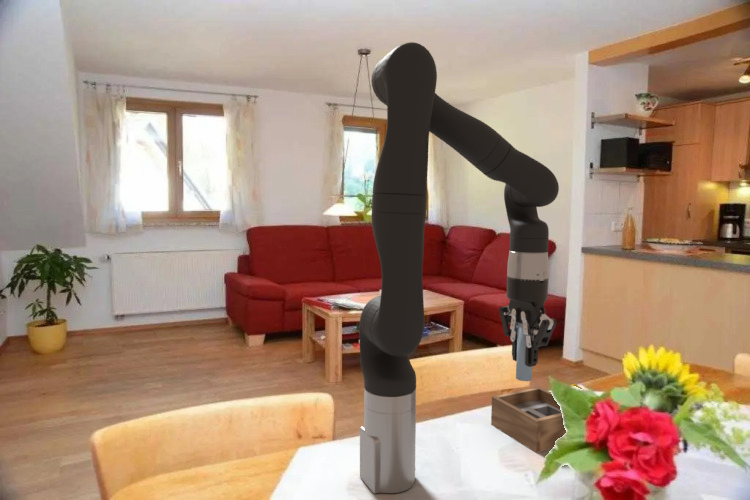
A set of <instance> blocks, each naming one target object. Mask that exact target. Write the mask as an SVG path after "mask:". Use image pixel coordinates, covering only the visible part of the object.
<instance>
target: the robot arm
mask: <svg viewBox="0 0 750 500" xmlns="http://www.w3.org/2000/svg"><path fill="white" fill-rule="evenodd" d="M437 79H438V73H437V65H436V62H435V59H434V56H433V55H432V54H431V52H430V50H429V49H427V47H425V45H422V44H421V43H419V42H418V43H417V42H412V41H411V42H406V43H402V44H400V45H398V46H396V47H395V48H393V49H392V50H390V52H388V53H387V54H386V55H385V56H384V57H383V58H381V59H380V60H379V62H377V64H376V65H375V66H374V68H373V70H372V73H371V80H370V81H371V87H372V91H373V93H374V95H375V96H376V97H377V99H378V100H379V102H381V103H382V104H383V105H386V108H387V110H386V112H387V113H386V114H387V115H386V117H387V118H386V119H387V120H386V130H385V136H384V142H383V145H382V148H381V151H380V155H379V158H378V160H377V161H378V163H377V166H376V169H375V174H374V178H373V185H372V196H371V198H372V199H371V227H372V233H373V237H374V241H375V245H376V250H377V253H378V258H379V262H380V268H381V288H380V291H381V292H380V295H377V296H375V297H373V298H371V299H370V300H368V302H367V303H366V304H365V305H364V307H363V309H362V310H361V314H360V318H359V319H360V320H359V327H358V328H359V330H358V333H359V334H358V335H359V358H360V361H359V362H360V369H361V374H362V375H363V376H362V377H363V384H364V385H363V387H364V388H363V391H364V393H363V396H364V397H363V398H364V401H363V403H364V404H363V409H364V411H363V412H364V413H363V415H364V416H363V420H364V421H363V425H362V426H360V428H359V478H360V479H361V480H362V481H363V482H364V483H365V485H366V486H367V487H368V488H369V489H370V491H371V492H372V493H373V494H377V493H379V494H380V493H382V494H383V493H384V494H399V493H402V492H405V491H407V490H409V489H411V488H412V487H413V486H414V484H415V482H416V433H417V431H416V430H417V429H416V428H417V427H416V425H417V424H416V420H417V417H416V416H417V415H416V414H417V374H416V371H415V368H414V367H413V366H412V364H411V361H410V358H409V355H411V354H412V353H413V352H415V350H416V349H417V348H418V347H419V345H420V343H421V342H422V339H423V336H424V331H425V307H424V306H425V305H424V285H423V270H424V269H423V267H424V266H423V265H424V250H425V248H424V247H425V226H426V218H427V215H426V214H427V201H428V200H427V199H428V198H427V197H428V170H429V167H428V166H429V140H430V139H429V138H430V134H432V135H434V136H435V137H437V138H438V139H439V140H441V141H443V142H444V143H445V144H446V145H448V146H449V147H450V148H452V149H453V150H454V151H456V152H457V153H458V154H459V155H461V156H462V157H463V158H464V159H466V160H467V162H469V163H470V164H471V165H472V166H473V167H474V168H476V170H478V171H480V172H481V173H482V174H483V175H484V176H485V177H487V178H488V179H490V180H493V181H496V182H501V183H504V184H505V185H504V189H503V190H504V191H503V197H504V198H503V199H504V206H505V211H506V216H507V222H508V225H509V228H510V230H509V253H508V257H507V258H508V259H507V267H506V268H507V273H506V298H507V299H509V302H508V305H506V306H500V307H498V312H499V317H500V319H501V324H502V329H503V333H504V336H505V337H509V338H510V341H511V357H512V360H513V361H515V362H516V360H517V331H518V323H521V324H523V333H524V335H525V336H526V345H527V347H526V356H525V365H526V366H528V367H532V368H533V367H535V366H536V365H537V364H538V362H539V361H538V360H539V348H540V347H546V346H548V345H549V342H550V339H551V338H552V335H553V332H554V330H555V328H556V325H557V323H558V322H557V319H556V318H550V317H549V316H548V315H547V313H546V309H545V303H546V301H547V300H548V298H549V297H548V295H549V292H548V291H549V273H550V264H549V263H550V260H549V235H550V234H549V233H550V231H549V226H548V223H546V222H545V221H543V220H542V219H540V217H539V215H538V208H541V207H542V208H543V207H545V206H548V205H550V204H552V203H553V202H555V200H556V199H557V197H558V194H559V191H560V187H559V182H558V179H557V177H556V175H555V174H554V172H552V170H551V169H550V168H548V167H547V166H546V165H544V164H543V163H541V162H540V161H538V160H536V159H535V158H533V157H532V156H529V155H527V154H526V153H524V152H522V151H520V150H518V149H517V148H515V147H514V146H513V145H512V144H511V143H510V142H509V141H507V140H506V139H505V137H503V136H502V135H501V134H500V133H498V132H497V131H496V130H495V129H494V128H492V127H491V126H489V125H488V124H487V123H485V122H484V121H482V120H480V119H478V118H476V117H474V116H473V115H470V114H469V113H466V112H464V111H462V110H461V109H459V108H457V107H455V106H454V105H452V104H451V103H449V102H448V101H446V100H445V99H444V98H442V97H441V96H439V95H438V94H437V93H436V89H437V82H438V81H437ZM509 325H510V326H509ZM533 328H534V330H531V331H530V329H533ZM532 335H534V339H533V341H532Z"/></svg>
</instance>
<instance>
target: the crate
mask: <svg viewBox="0 0 750 500" xmlns="http://www.w3.org/2000/svg"><path fill="white" fill-rule="evenodd" d="M551 393H552V392H551V391H549V390H547V389H545V388H543V387H541V386H537V387H533V388H526V389H522V390H518V391H512V392H507V393H504V394H499V395H494V396H491V412H490V413H491V417H490V419H491V420H490V425H491V426H493V427H494V428H496V429H498V430H499V431H501V432H502V433H504V434H505V435H507V436H509V437H510V438H512V439H514V440H515V441H516V442H518V443H519V444H522V445H523V446H525V447H526V448H528V449H530V450H531V451H533V452H534V453H536V454H537V453H540V452H544V451H547V450H550V449H553V448H552V447H554V445H555V441H556V440H557V439H558V438H560V437H562V436H563V435H564V434H565V433H566V430H565V428H564V425H563V418H562V413H561V410H560V406H559V405H558V404H557V402H556V401H555V400H554V398H553V396H552V394H551Z"/></svg>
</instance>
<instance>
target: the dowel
mask: <svg viewBox="0 0 750 500" xmlns="http://www.w3.org/2000/svg"><path fill="white" fill-rule="evenodd" d="M534 329H535V328H533V329H530V331H531V330H534ZM532 341H534V335H532ZM526 347H527V345H526V336H525V335H524V333H523V324H521V323H518V331H517V360H516V361H515V362H516V364H515V366H516V367H515V378H516V380H517V381H522V382H531V381H532V380H533V366H532V367H528V366H526V365H525V356H526Z"/></svg>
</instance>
